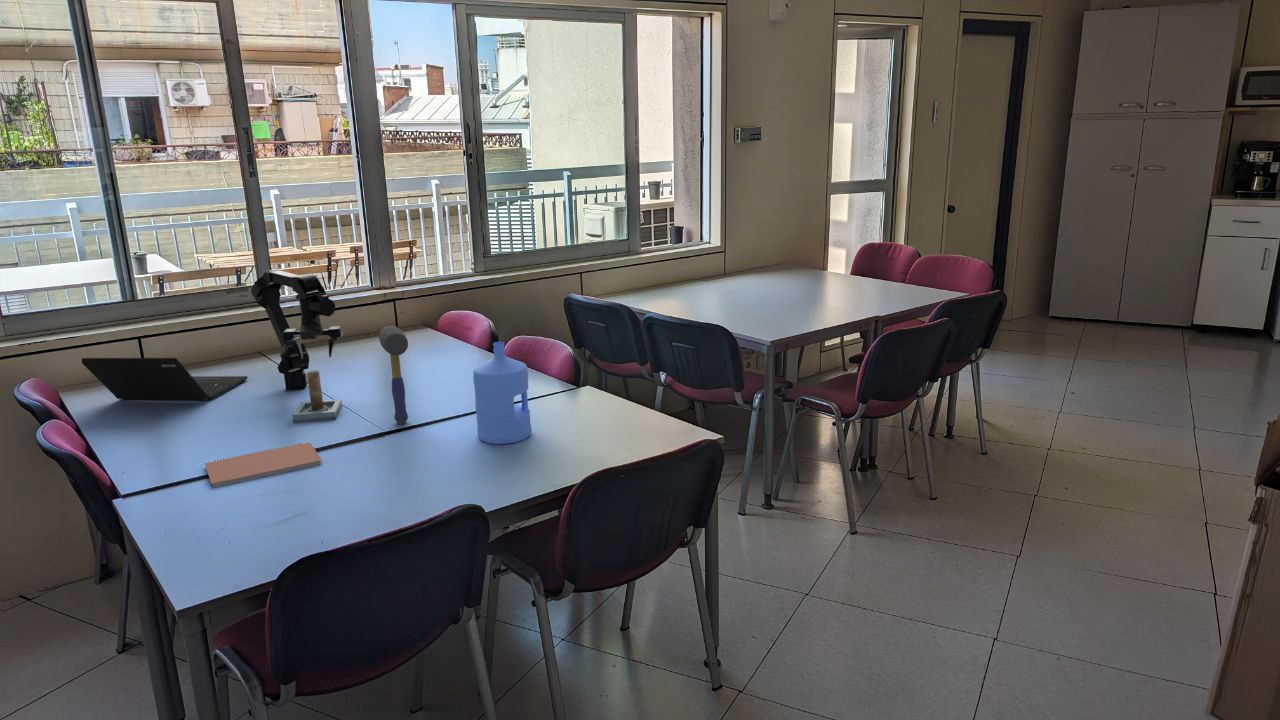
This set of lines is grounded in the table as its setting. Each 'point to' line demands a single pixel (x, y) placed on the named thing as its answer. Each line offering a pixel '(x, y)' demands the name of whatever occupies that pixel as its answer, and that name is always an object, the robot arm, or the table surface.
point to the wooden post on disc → (315, 392)
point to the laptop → (156, 379)
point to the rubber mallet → (396, 367)
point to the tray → (305, 416)
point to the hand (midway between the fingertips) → (316, 357)
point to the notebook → (262, 464)
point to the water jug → (501, 399)
